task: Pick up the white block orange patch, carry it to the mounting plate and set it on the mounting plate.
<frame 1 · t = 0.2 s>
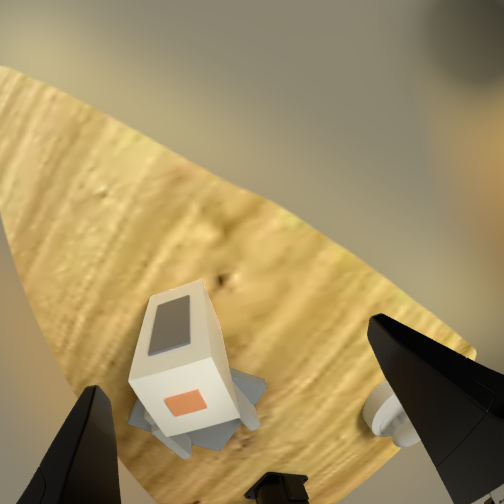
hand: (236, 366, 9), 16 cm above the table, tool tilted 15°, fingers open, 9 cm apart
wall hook: (395, 393, 33), on the table
mounting plate: (193, 401, 27), on the table
white block orange patch: (185, 311, 25), on the table
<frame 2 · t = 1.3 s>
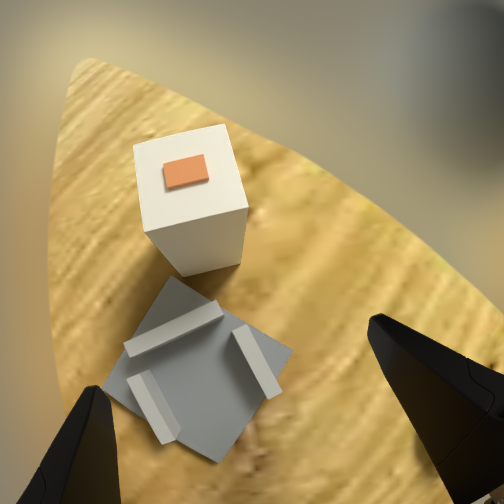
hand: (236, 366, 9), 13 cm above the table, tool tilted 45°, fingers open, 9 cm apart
mounting plate: (195, 371, 21), on the table
white block orange patch: (205, 242, 24), on the table
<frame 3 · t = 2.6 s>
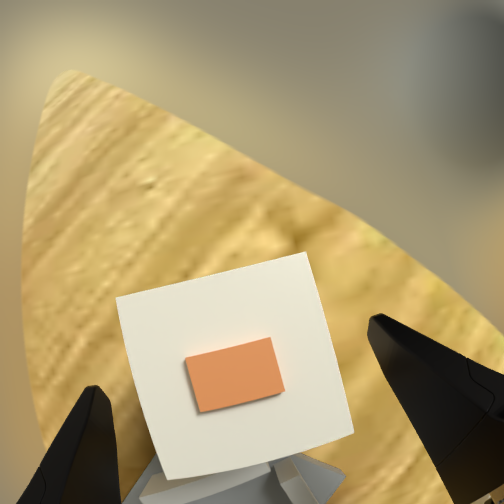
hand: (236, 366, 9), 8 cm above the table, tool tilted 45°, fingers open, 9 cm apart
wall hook: (498, 482, 15), on the table
mounting plate: (225, 499, 14), on the table
white block orange patch: (233, 350, 17), on the table
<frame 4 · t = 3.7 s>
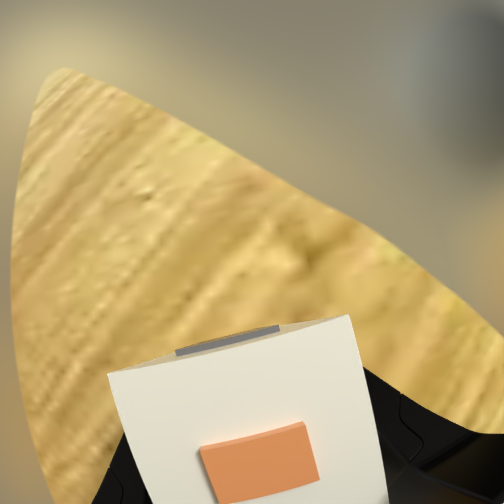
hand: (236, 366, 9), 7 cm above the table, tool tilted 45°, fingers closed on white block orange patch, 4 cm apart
white block orange patch: (241, 378, 15), on the table, touching gripper
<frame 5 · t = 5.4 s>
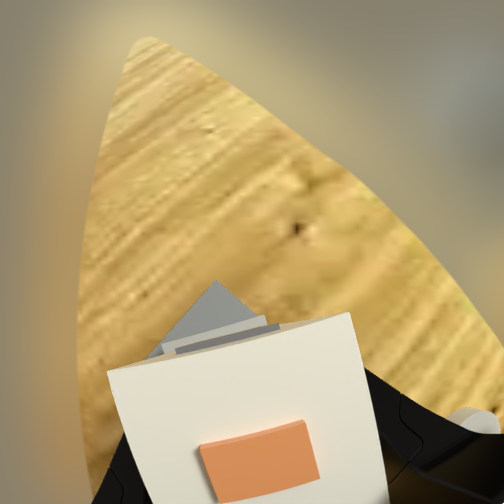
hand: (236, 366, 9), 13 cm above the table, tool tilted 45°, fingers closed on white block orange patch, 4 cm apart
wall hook: (458, 441, 21), on the table
mounting plate: (223, 378, 22), on the table
white block orange patch: (241, 377, 15), point 7 cm above the table, touching gripper
when the fingers open (8 cm above the table, at t = 7.2 s): white block orange patch stays where it is, resting on mounting plate.
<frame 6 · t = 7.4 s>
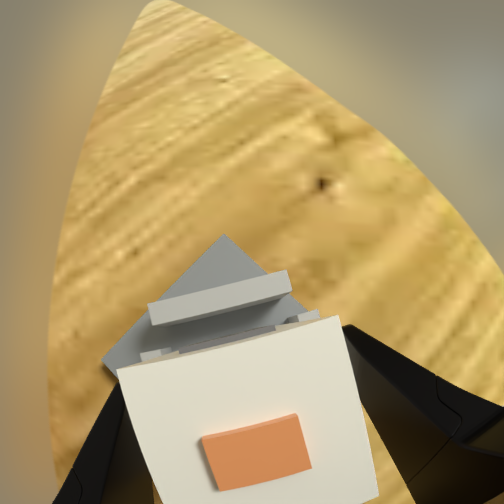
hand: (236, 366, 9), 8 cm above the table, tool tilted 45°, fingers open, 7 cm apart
mounting plate: (227, 361, 17), on the table
white block orange patch: (240, 376, 16), point 1 cm above the table, touching mounting plate
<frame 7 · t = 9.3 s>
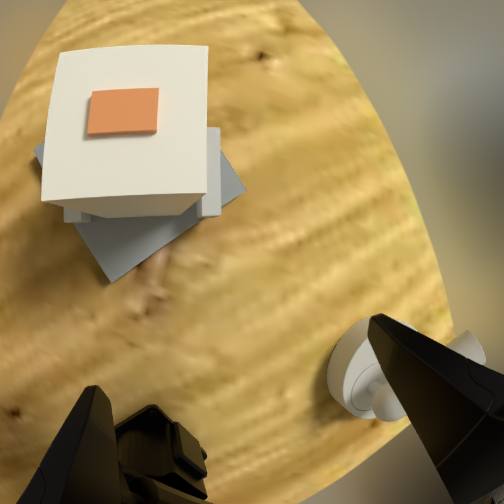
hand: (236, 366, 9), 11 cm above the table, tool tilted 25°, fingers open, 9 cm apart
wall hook: (373, 356, 25), on the table
mounting plate: (135, 169, 19), on the table
white block orange patch: (142, 179, 18), point 1 cm above the table, touching mounting plate
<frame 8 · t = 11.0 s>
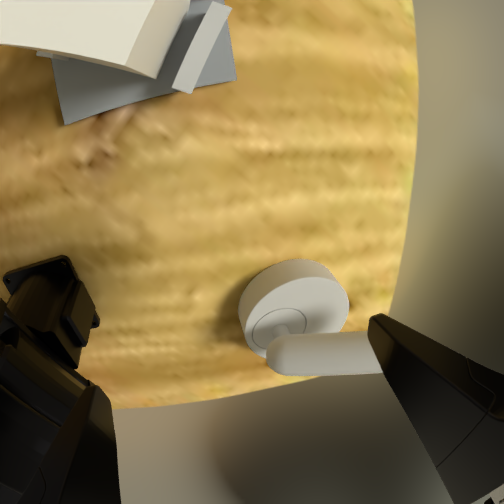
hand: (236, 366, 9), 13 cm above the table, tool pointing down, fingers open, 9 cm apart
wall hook: (296, 299, 26), on the table
mounting plate: (135, 21, 13), on the table
white block orange patch: (135, 33, 13), point 1 cm above the table, touching mounting plate
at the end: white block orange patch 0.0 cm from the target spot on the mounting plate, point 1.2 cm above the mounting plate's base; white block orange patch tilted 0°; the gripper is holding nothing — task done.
